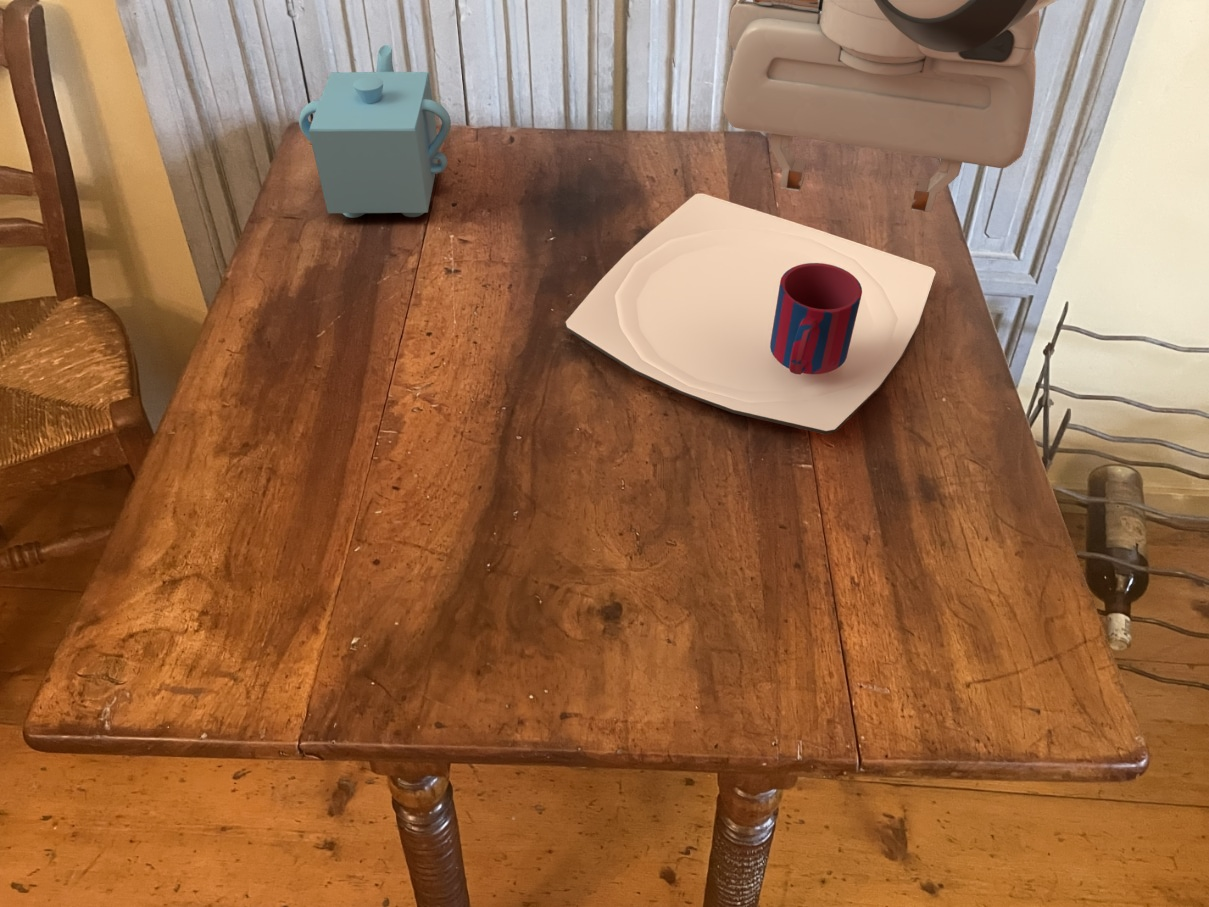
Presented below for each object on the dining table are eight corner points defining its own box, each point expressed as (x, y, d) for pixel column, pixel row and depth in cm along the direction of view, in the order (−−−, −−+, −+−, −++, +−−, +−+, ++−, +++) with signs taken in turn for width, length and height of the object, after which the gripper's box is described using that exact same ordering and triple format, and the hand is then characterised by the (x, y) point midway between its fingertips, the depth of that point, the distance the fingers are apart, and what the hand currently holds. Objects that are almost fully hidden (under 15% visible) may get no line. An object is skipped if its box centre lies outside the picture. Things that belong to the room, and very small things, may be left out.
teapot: (454, 225, 104) (439, 110, 95) (306, 226, 104) (276, 111, 95) (467, 139, 117) (456, 30, 107) (335, 140, 116) (312, 30, 107)
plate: (835, 472, 80) (841, 449, 78) (543, 350, 90) (542, 328, 88) (948, 289, 97) (955, 266, 95) (690, 204, 107) (692, 182, 105)
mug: (857, 339, 87) (872, 276, 82) (818, 408, 81) (832, 345, 76) (786, 316, 89) (797, 254, 84) (743, 382, 83) (752, 318, 78)
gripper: (720, 1, 62) (706, 195, 72) (1062, 43, 57) (996, 244, 67) (743, -35, 66) (726, 153, 76) (1063, 1, 62) (1001, 197, 72)
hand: (855, 196), depth 72 cm, fingers open, 8 cm apart
